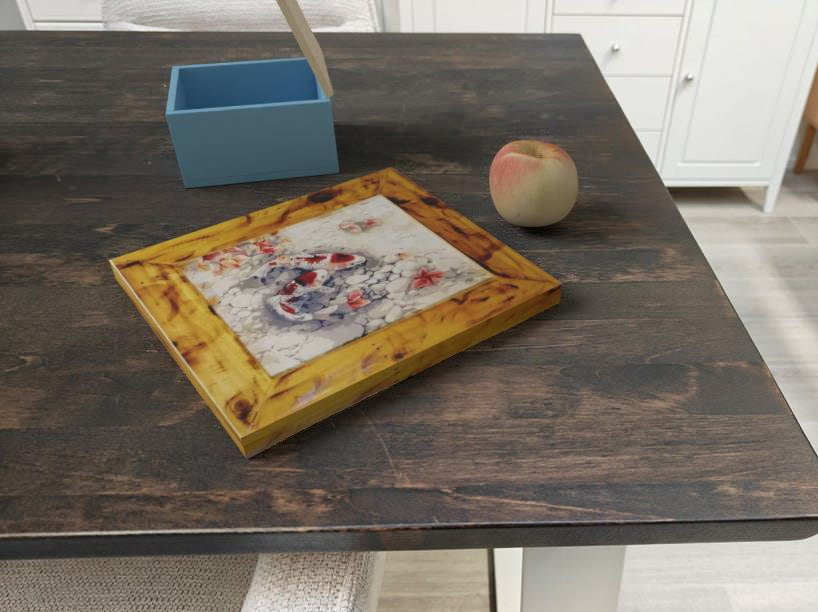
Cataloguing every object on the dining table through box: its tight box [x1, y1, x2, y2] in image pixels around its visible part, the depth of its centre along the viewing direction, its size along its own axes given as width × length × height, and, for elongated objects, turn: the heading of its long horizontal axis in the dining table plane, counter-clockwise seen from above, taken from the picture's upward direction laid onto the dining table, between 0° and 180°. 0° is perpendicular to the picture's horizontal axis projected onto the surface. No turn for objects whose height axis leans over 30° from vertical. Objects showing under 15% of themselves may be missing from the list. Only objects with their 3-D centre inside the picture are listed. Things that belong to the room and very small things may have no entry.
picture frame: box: [108, 166, 563, 460], centre depth 66 cm, size 27×2×30 cm
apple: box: [488, 139, 579, 228], centre depth 74 cm, size 9×9×8 cm
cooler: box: [165, 56, 340, 189], centre depth 84 cm, size 17×14×8 cm
